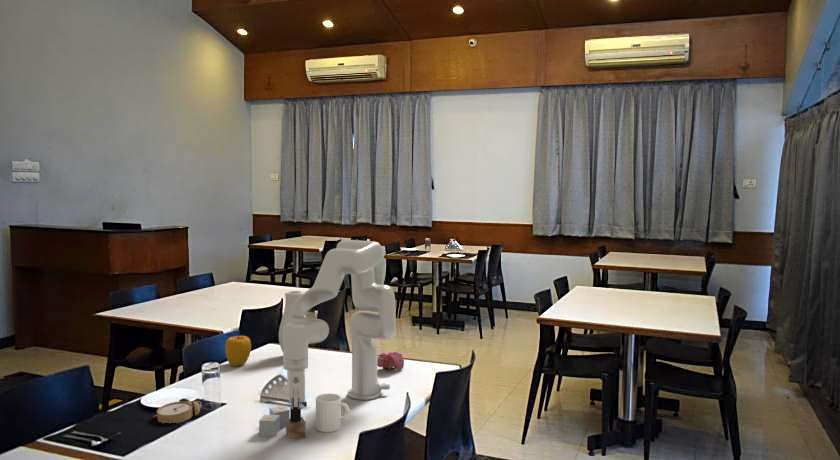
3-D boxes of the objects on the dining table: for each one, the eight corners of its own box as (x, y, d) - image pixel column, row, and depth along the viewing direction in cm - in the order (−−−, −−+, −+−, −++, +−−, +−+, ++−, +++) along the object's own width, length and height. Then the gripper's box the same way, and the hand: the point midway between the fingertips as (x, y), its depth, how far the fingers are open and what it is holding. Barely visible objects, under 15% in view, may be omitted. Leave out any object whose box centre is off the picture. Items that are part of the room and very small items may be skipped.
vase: (273, 360, 271) (273, 294, 269) (285, 352, 284) (285, 289, 282) (303, 362, 268) (303, 295, 266) (313, 354, 282) (313, 290, 280)
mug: (342, 436, 189) (342, 405, 188) (310, 429, 194) (310, 399, 193) (355, 427, 196) (356, 397, 195) (324, 420, 201) (324, 392, 200)
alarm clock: (149, 411, 200) (188, 391, 212) (151, 424, 201) (190, 404, 213) (168, 418, 194) (208, 398, 206) (171, 432, 195) (210, 411, 207)
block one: (279, 430, 193) (279, 414, 193) (275, 436, 188) (275, 420, 188) (264, 429, 193) (264, 414, 193) (259, 436, 188) (259, 420, 188)
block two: (284, 420, 201) (284, 405, 201) (289, 425, 197) (289, 409, 197) (269, 423, 199) (269, 407, 198) (274, 428, 195) (274, 412, 194)
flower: (380, 374, 263) (390, 353, 267) (399, 380, 257) (408, 359, 261) (368, 364, 255) (378, 343, 259) (386, 371, 249) (396, 348, 253)
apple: (246, 368, 258) (246, 339, 257) (221, 368, 258) (221, 338, 257) (254, 361, 269) (254, 332, 268) (230, 361, 269) (229, 332, 268)
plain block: (302, 432, 192) (302, 416, 191) (305, 438, 187) (305, 422, 187) (286, 434, 190) (286, 418, 189) (289, 440, 185) (289, 424, 185)
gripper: (308, 369, 180) (308, 429, 182) (307, 355, 195) (306, 411, 196) (283, 370, 179) (283, 430, 180) (283, 356, 193) (283, 412, 194)
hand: (295, 420), depth 188 cm, fingers closed
